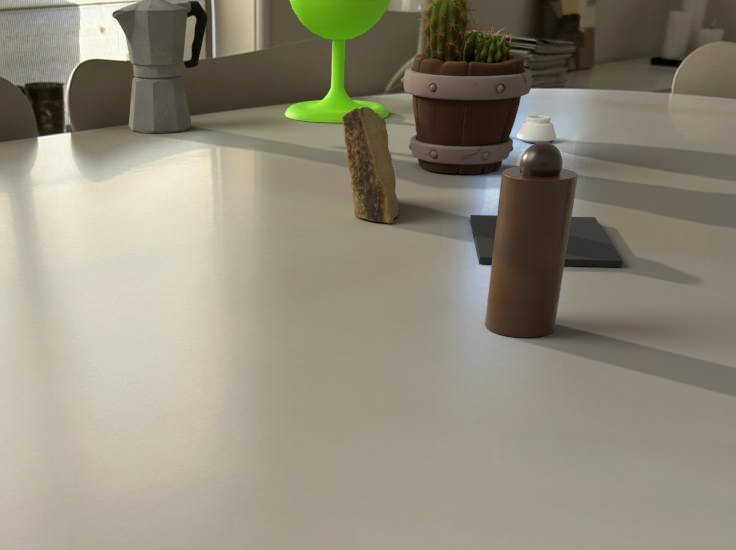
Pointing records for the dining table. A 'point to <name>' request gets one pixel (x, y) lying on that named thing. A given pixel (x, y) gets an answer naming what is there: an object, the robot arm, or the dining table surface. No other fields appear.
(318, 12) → the wineglass
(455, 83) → the flowerpot
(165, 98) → the coffeepot
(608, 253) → the mat
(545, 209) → the pepper mill
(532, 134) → the white bowl
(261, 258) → the dining table surface
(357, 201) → the rock
